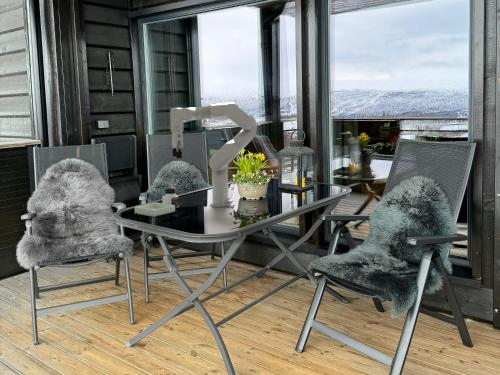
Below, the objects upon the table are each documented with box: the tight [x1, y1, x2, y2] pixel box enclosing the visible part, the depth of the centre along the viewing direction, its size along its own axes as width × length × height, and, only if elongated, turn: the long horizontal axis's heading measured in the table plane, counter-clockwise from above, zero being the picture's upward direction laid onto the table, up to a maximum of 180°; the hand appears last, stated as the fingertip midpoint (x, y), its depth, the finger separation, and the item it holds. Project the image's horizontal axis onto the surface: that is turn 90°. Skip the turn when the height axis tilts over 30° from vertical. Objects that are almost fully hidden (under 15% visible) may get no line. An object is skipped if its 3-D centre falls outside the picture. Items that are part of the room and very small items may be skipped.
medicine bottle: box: [161, 186, 180, 209], centre depth 307 cm, size 7×7×12 cm
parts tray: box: [134, 202, 176, 217], centre depth 294 cm, size 16×16×4 cm
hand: (177, 157), depth 311 cm, fingers open, 9 cm apart
